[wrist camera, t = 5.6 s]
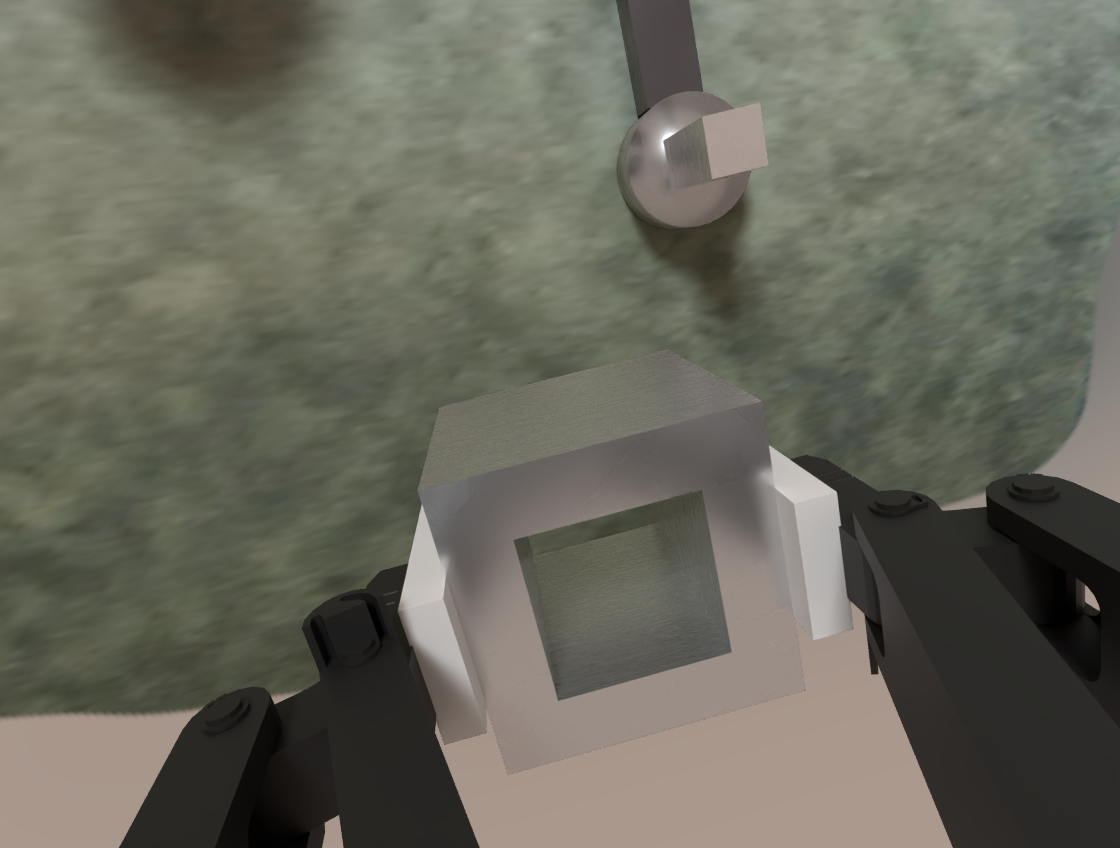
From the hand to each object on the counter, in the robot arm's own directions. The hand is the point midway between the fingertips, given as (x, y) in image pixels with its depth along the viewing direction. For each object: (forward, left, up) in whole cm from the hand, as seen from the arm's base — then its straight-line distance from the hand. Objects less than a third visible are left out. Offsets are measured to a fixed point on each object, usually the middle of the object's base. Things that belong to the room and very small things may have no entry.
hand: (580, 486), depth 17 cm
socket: (0, 0, 0) cm, 0 cm away
